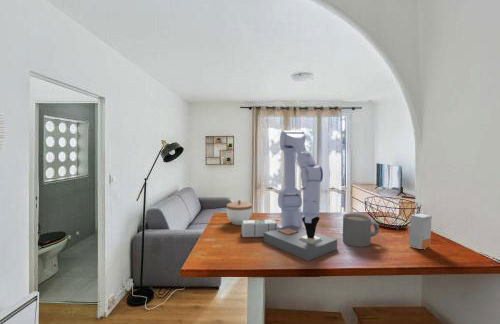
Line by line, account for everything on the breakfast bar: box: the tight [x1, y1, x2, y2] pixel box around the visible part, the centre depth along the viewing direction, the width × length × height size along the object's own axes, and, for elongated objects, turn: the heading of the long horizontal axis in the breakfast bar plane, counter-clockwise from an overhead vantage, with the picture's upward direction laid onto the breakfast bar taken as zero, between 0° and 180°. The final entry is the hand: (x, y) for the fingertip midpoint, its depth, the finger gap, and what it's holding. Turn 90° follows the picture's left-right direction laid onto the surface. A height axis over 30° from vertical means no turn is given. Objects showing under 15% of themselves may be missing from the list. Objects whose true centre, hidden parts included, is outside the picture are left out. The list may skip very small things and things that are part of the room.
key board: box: [263, 225, 338, 262], centre depth 95 cm, size 16×22×4 cm
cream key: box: [301, 235, 321, 244], centre depth 90 cm, size 5×5×4 cm
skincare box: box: [409, 213, 432, 250], centre depth 92 cm, size 6×4×12 cm
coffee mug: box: [342, 212, 380, 248], centre depth 97 cm, size 13×10×10 cm
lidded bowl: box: [225, 199, 253, 226], centre depth 123 cm, size 13×13×11 cm
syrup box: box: [241, 219, 278, 238], centre depth 106 cm, size 6×6×14 cm
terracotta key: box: [279, 228, 297, 236], centre depth 99 cm, size 5×5×4 cm
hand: (310, 237), depth 90 cm, fingers closed, pressing on cream key
